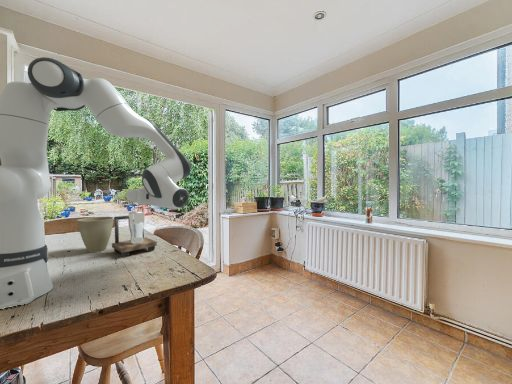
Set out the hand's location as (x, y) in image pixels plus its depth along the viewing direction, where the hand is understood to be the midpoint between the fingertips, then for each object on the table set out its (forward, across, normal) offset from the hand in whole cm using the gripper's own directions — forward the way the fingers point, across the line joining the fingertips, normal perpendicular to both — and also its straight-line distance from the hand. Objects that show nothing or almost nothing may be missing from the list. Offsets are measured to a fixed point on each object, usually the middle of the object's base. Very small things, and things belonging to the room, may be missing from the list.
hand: (146, 194), depth 102 cm
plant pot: (+30, +11, +30) cm, 44 cm away
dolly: (+14, -1, +29) cm, 32 cm away
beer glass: (+13, -1, +25) cm, 28 cm away
